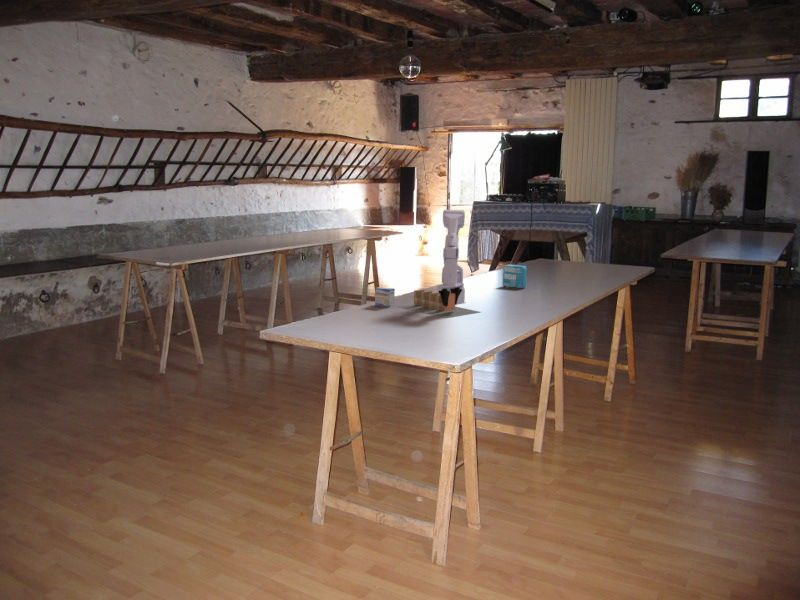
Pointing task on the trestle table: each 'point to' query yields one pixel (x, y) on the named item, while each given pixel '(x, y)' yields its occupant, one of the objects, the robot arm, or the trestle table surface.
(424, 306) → the domino
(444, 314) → the mat
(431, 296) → the domino
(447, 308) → the domino
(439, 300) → the domino
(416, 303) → the domino
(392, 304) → the medicine box
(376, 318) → the trestle table surface
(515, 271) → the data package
